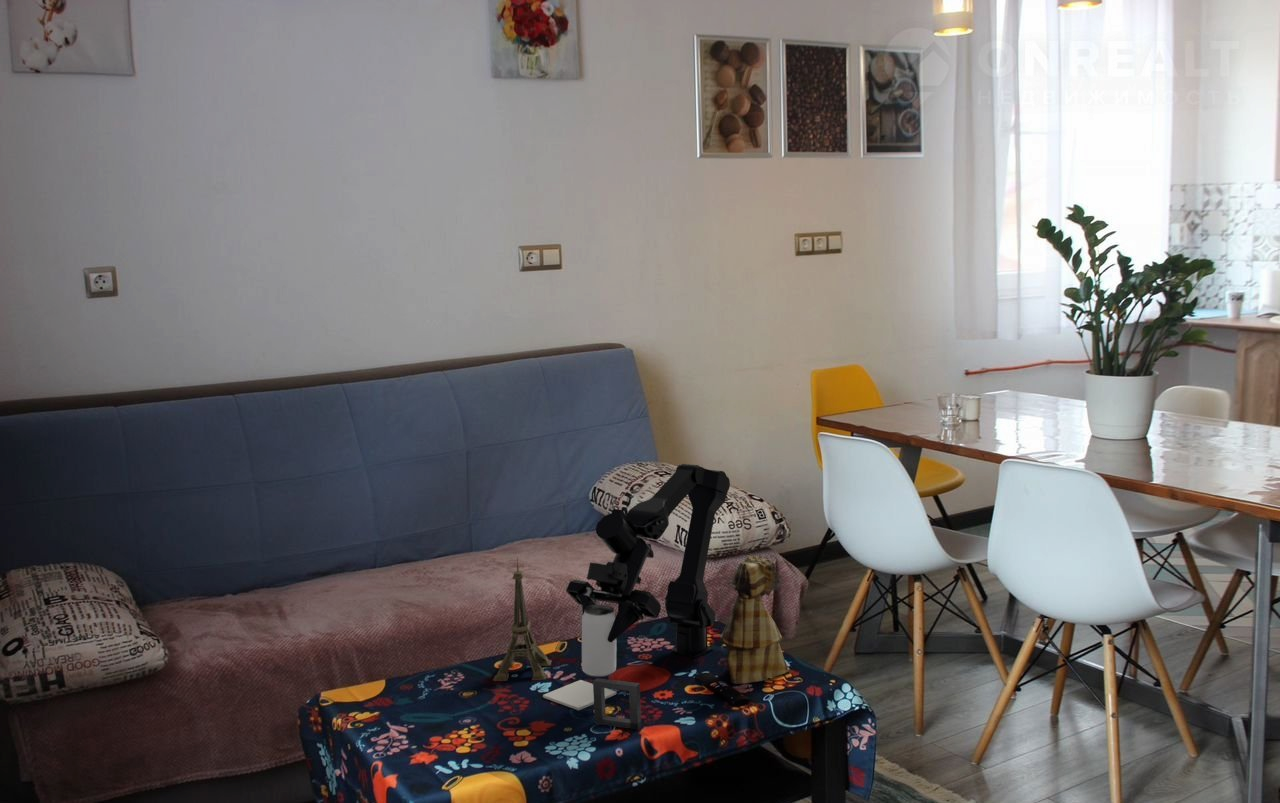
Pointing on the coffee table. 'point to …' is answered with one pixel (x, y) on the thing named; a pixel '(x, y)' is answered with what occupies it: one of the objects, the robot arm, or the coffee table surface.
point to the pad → (576, 695)
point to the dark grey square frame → (633, 701)
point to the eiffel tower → (524, 647)
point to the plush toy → (753, 625)
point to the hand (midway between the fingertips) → (596, 638)
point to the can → (598, 641)
